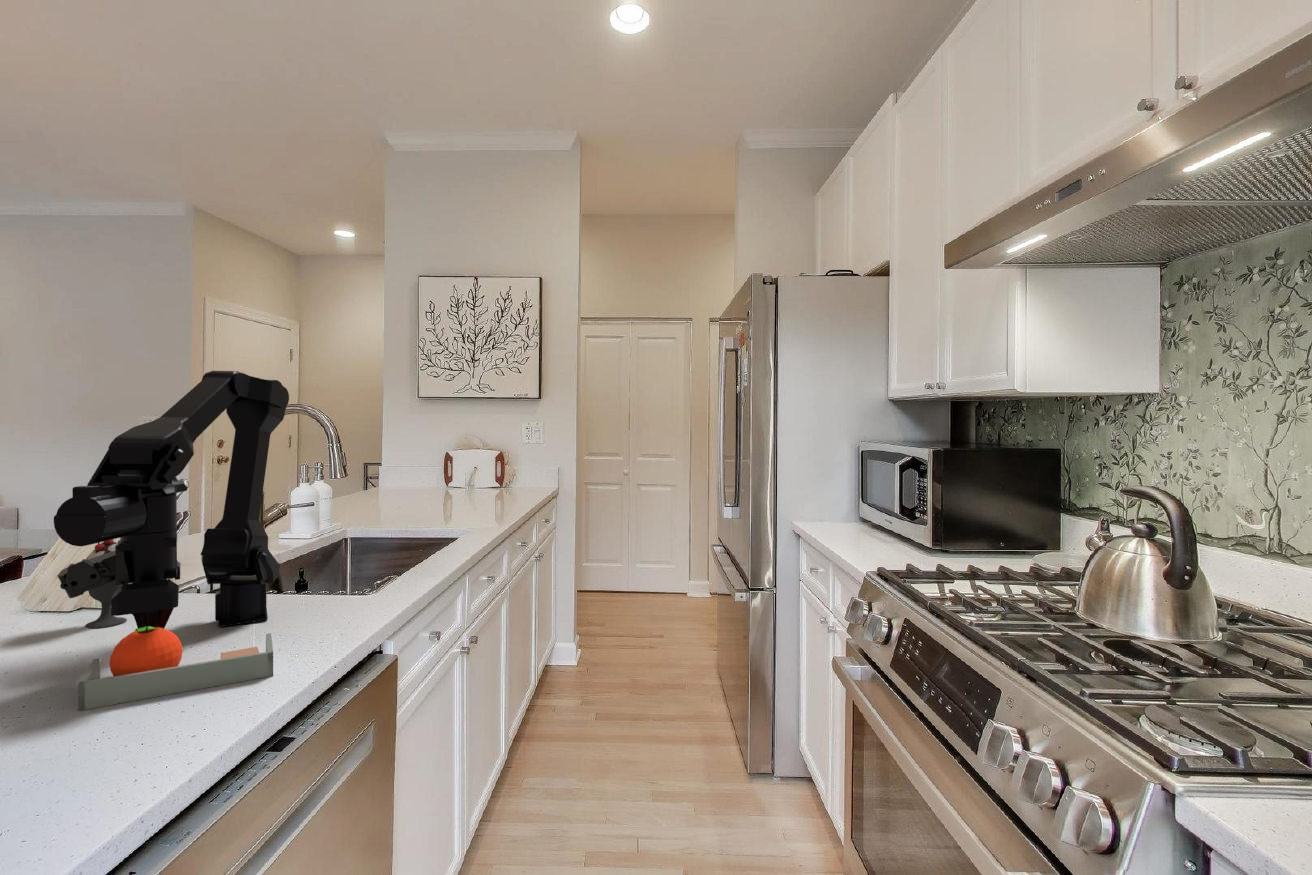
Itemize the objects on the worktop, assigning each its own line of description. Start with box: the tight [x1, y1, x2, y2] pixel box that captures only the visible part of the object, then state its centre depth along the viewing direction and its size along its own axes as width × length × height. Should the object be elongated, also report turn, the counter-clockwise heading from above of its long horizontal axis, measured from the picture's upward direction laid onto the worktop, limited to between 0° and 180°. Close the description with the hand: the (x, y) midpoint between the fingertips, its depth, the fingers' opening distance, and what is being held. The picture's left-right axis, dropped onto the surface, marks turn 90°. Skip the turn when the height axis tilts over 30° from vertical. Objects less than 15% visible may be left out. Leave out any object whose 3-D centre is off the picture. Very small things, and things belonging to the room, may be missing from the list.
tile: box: [220, 646, 260, 659], centre depth 80 cm, size 4×4×2 cm
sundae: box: [84, 539, 128, 629], centre depth 97 cm, size 7×7×15 cm
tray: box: [77, 632, 274, 712], centre depth 78 cm, size 18×8×3 cm, turn 123°
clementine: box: [108, 626, 184, 677], centre depth 76 cm, size 8×7×7 cm
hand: (150, 648), depth 81 cm, fingers closed
